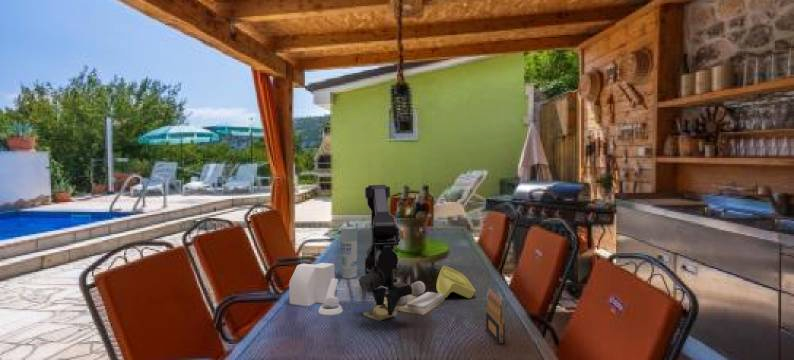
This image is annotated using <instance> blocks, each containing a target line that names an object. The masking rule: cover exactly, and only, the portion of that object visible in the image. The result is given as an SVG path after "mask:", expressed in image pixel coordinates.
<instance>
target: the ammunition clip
mask: <svg viewBox="0 0 794 360" xmlns="http://www.w3.org/2000/svg"><path fill="white" fill-rule="evenodd" d="M486 304H487V305H486V308H487V309H486V312H485V318H486V319H485V330H486V332H487V333H488V335H489V336H491V338H492V340H493V341H495V342H496V343H497V345H504V344H505V343H506V338H505V337H506V336H505V335H506V333H505V331H506V330H505V329H506V328H505V327H506V326H505V323H504V306H503V300H502V298H501V297H500V296H499V295H498V294H497V293H496V292H494V291H493V290H492V288H489V290H488V293H487V303H486Z"/></svg>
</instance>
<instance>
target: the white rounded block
mask: <svg viewBox="0 0 794 360" xmlns="http://www.w3.org/2000/svg"><path fill="white" fill-rule="evenodd" d="M335 273H336V272H335V263H330V262H329V263H328V262H320V263H316V264H313V263H312V264H311V263H305V262H303V263H300V264H297V265H296V268H295V269H294V272H293V274H292V276H291V277H290V280H289V282H288V287H289V288H288V289H289V290H288V291H289V304H290V305H294V306H295V305H296V306H302V307H310V306H311V305H314V304H316V303H319V304H323V305H324V304H326V303H325V299H326V295H327V292H328V288H329V285H330V282H331V279H332V278H335ZM335 279H336V278H335ZM334 297H336V293H335V294H334Z"/></svg>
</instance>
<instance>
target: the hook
mask: <svg viewBox="0 0 794 360" xmlns="http://www.w3.org/2000/svg"><path fill="white" fill-rule="evenodd" d="M338 282H339V279H338V278H332V279H331V282H330V285H329V288H328V292H327V295H326V299H325V304H324V303H323V304H322V305H320V307H319V308H318V312H317V313H318V314H320V315H324V316H336V315H339V314H342V312H343V307H342V306H341V304H339V298H338V297H336V296H335V297H334V294H335V295H336V289H337V285H338Z"/></svg>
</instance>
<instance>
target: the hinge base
mask: <svg viewBox="0 0 794 360" xmlns="http://www.w3.org/2000/svg"><path fill="white" fill-rule="evenodd" d="M409 285H410V286H411V287H412V294H411V295H407V296H403V297H400V299H399V301H398V303H397V305H396V306H397V312H398V311H399V312H404V313H410V314H417V315H422V316H424V315H426V314H427V313H429V312H430V311H432V310H433V309H435V308H436V307H437V306H439V305H441V304H442V303H443V302H445V299H444V294H440V293H438V292H433V291H427V292H425V291H426V285H425V283H424V282H423V281H421V280H417V281H415V282H412V283H411V284H409ZM385 303H387V298H386V297H385V298H384V304H385ZM375 306H377V305H376V302H375V301H374V302H373V308H374V307H375Z"/></svg>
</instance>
